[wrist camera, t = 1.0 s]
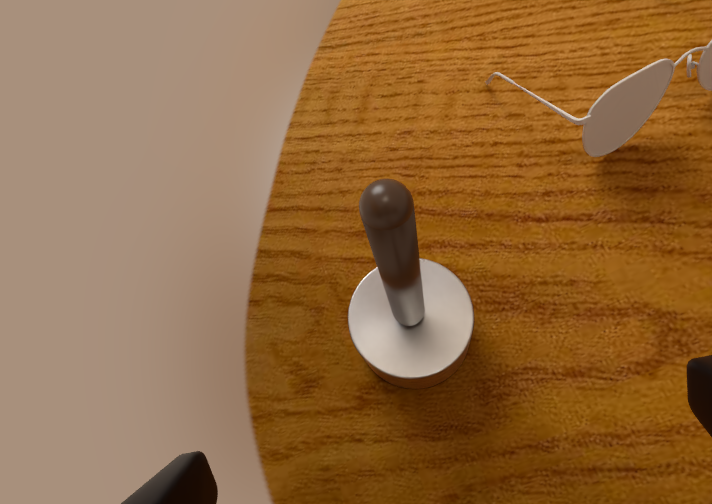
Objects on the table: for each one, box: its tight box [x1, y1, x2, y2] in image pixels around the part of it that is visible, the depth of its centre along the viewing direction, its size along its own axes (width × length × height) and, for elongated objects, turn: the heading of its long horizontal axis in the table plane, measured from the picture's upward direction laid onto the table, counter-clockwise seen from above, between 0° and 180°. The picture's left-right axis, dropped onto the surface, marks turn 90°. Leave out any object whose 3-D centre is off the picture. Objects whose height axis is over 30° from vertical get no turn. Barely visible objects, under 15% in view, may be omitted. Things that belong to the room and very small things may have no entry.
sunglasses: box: [486, 40, 712, 157], centre depth 25 cm, size 14×8×5 cm, turn 119°
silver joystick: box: [348, 179, 474, 389], centre depth 16 cm, size 6×6×13 cm
